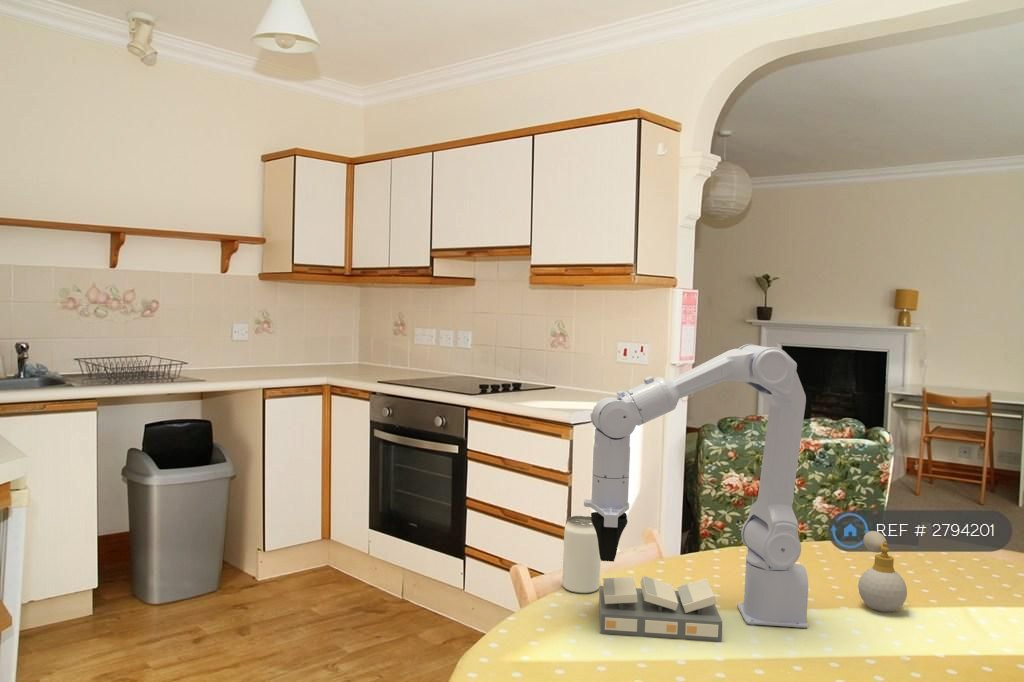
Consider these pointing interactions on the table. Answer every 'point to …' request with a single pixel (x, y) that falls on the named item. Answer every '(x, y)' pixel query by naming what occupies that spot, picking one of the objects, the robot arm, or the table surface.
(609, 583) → the rocker
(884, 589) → the perfume bottle
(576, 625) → the table surface
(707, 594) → the rocker
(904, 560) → the table surface
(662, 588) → the rocker mid
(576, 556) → the can
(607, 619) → the switch box
